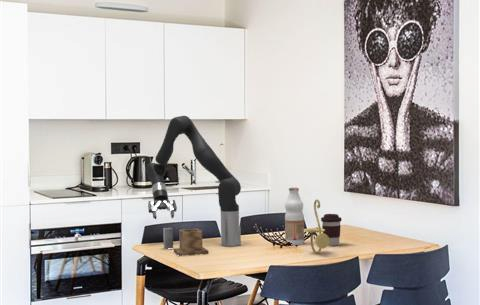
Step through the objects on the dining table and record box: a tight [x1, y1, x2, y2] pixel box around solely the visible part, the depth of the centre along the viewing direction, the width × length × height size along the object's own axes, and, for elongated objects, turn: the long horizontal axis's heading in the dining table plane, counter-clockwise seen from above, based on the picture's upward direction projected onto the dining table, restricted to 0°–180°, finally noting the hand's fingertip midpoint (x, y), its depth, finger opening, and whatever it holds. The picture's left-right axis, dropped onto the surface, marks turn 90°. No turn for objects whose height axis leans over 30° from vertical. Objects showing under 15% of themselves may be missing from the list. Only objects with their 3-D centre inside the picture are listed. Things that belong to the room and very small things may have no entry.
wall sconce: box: [304, 198, 329, 255], centre depth 275 cm, size 14×10×25 cm
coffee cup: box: [320, 213, 342, 247], centre depth 297 cm, size 10×10×15 cm
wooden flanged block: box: [173, 228, 210, 257], centre depth 284 cm, size 14×12×10 cm
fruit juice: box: [284, 187, 305, 246], centre depth 303 cm, size 9×9×28 cm
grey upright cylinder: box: [162, 227, 174, 250], centre depth 296 cm, size 4×4×10 cm
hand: (164, 217), depth 306 cm, fingers open, 8 cm apart
